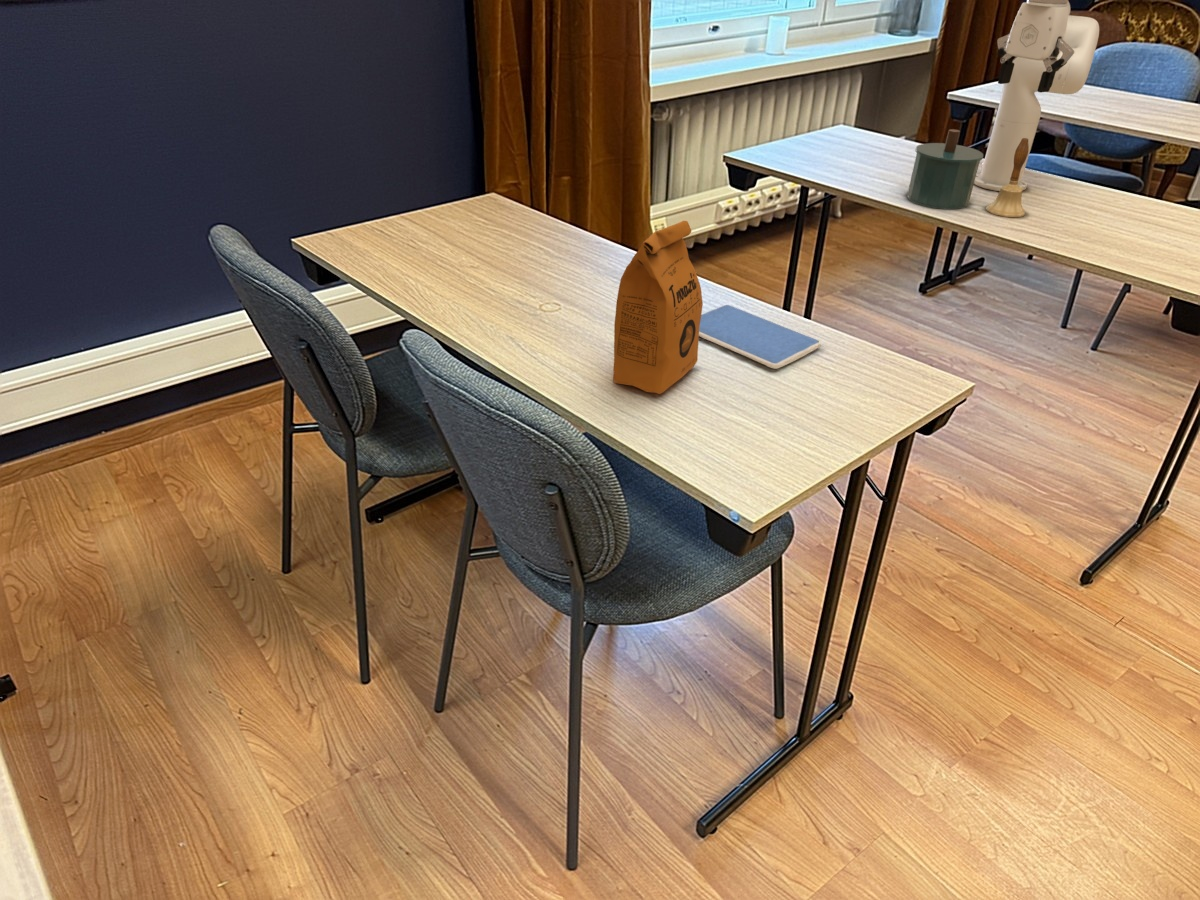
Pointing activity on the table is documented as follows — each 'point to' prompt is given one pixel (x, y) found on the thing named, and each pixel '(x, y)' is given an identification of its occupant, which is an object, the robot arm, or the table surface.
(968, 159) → the tin lid
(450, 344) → the table surface
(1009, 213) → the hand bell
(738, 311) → the tablet
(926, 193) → the tin
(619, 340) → the coffee package
